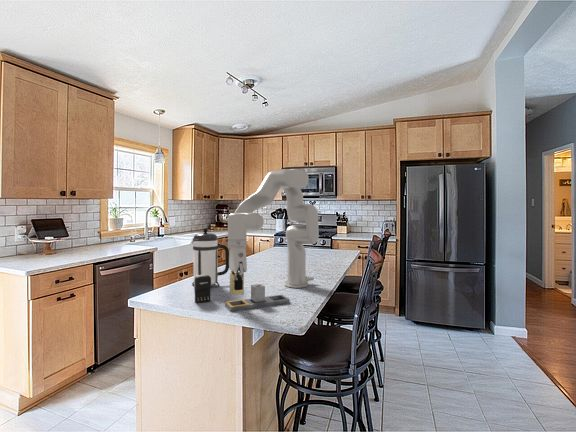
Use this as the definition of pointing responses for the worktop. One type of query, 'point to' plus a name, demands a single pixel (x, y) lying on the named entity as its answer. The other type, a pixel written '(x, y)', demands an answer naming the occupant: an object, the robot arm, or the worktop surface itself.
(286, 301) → the grey block holder rack
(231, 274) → the wooden block with knob
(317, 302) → the worktop surface
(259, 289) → the grey block with knob
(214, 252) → the coffee press
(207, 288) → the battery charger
